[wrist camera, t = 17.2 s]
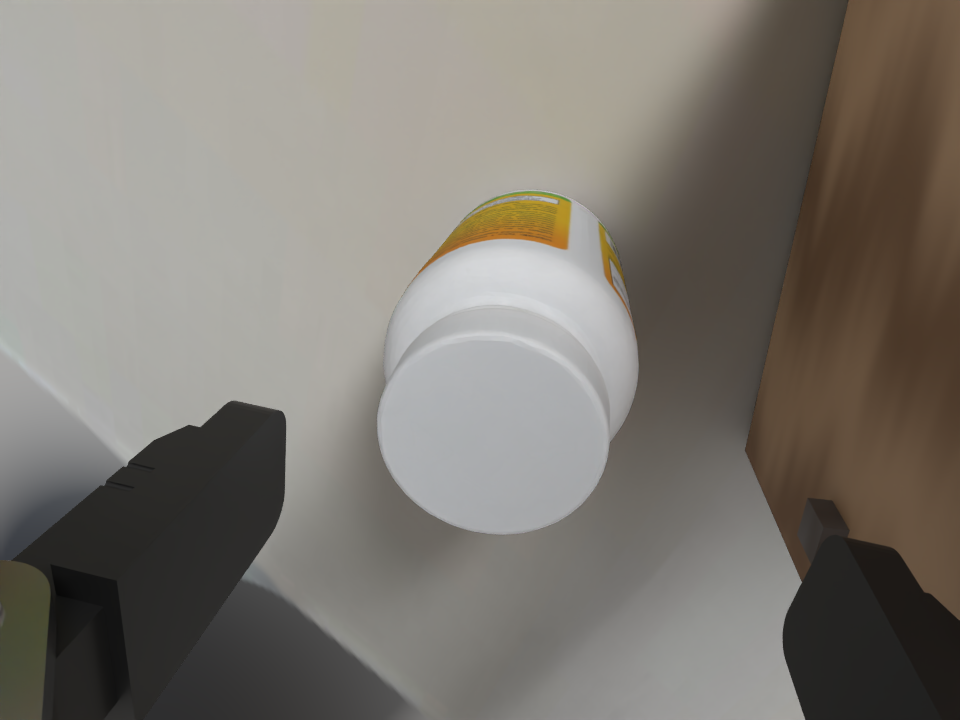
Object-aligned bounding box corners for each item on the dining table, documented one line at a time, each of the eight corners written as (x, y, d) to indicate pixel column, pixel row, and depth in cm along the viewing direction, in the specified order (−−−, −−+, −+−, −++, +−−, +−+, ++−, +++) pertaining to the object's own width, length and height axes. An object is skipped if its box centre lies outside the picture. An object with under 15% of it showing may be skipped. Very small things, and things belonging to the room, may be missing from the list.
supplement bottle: (412, 292, 20) (281, 460, 11) (511, 147, 18) (442, 216, 9) (548, 387, 21) (523, 615, 12) (659, 259, 19) (728, 424, 10)
